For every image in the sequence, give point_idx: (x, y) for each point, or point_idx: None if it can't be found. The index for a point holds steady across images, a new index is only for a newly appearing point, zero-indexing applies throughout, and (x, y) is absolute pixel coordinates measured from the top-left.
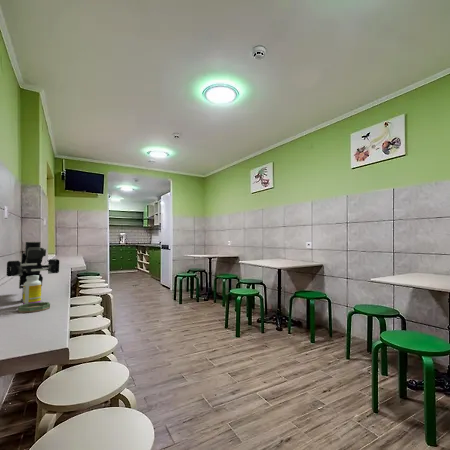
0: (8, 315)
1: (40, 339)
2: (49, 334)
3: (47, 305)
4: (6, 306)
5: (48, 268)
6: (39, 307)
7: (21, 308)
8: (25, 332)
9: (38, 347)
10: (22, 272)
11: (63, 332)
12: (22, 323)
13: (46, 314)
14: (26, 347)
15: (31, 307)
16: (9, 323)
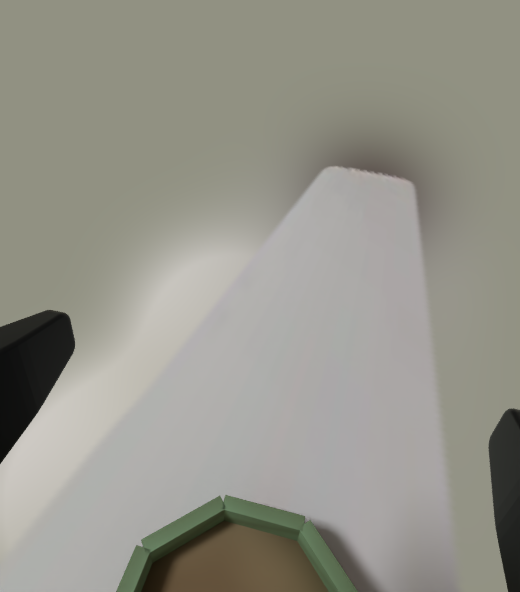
0: (432, 573)
1: (351, 202)
2: (328, 211)
3: (169, 527)
4: None
5: (60, 320)
6: (240, 502)
7: (352, 588)
8: (372, 250)
9: (362, 182)
10: (489, 442)
11: (299, 204)
12: (370, 330)
13: (249, 393)
14: (380, 191)
15: (291, 522)
16: (416, 366)
